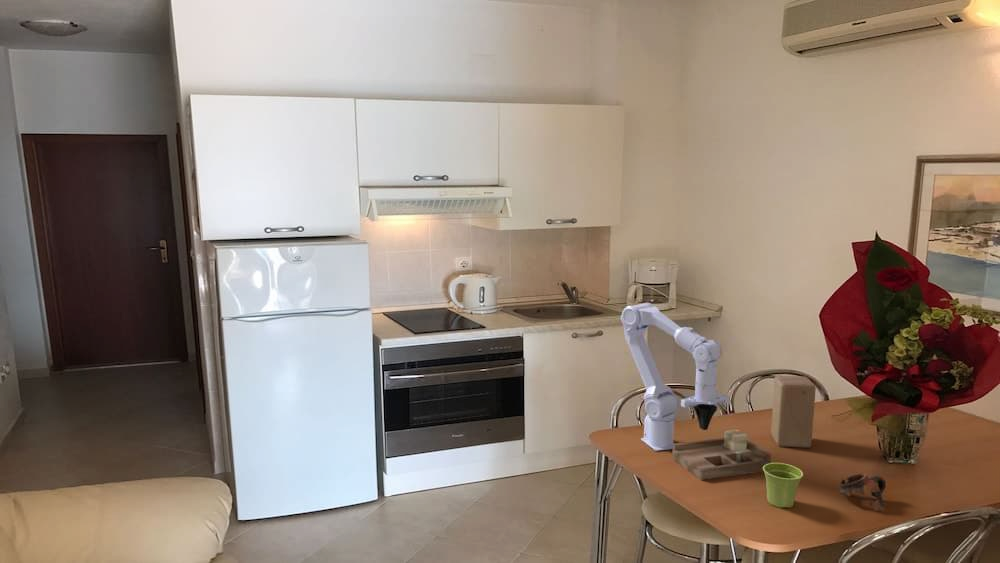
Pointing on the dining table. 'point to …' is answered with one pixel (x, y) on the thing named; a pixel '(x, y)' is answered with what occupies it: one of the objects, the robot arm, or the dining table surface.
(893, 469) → the dining table surface
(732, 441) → the maple block
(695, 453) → the trap box
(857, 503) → the dining table surface
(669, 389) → the robot arm
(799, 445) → the wooden block
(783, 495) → the plant pot
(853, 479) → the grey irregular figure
